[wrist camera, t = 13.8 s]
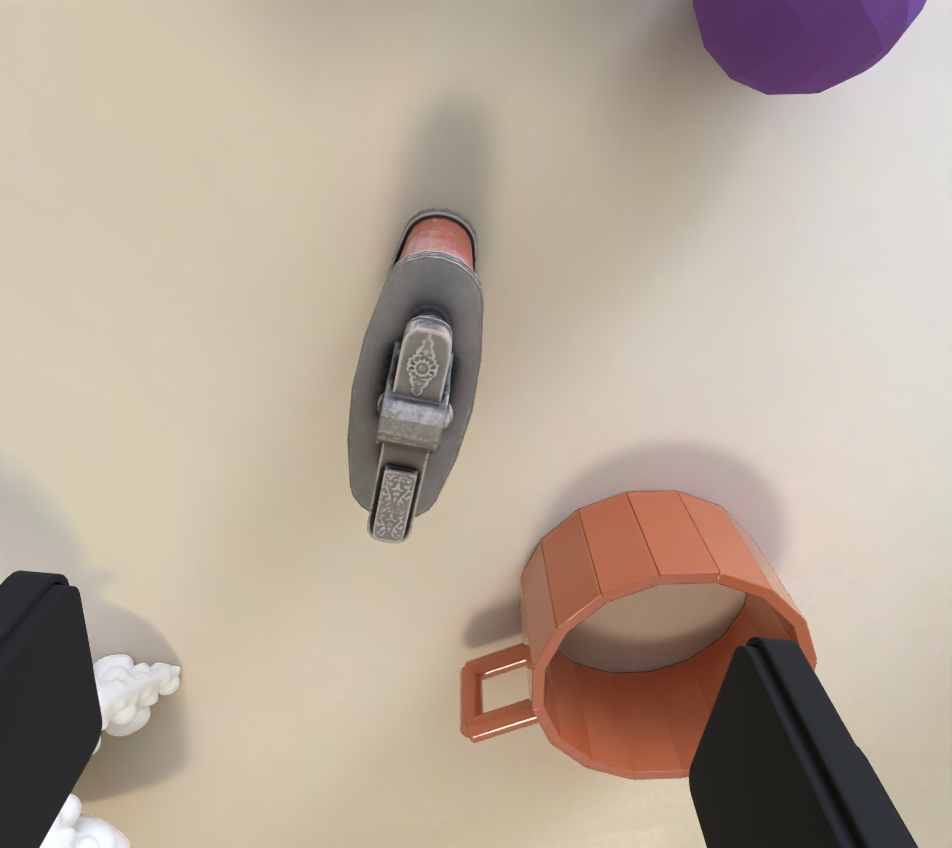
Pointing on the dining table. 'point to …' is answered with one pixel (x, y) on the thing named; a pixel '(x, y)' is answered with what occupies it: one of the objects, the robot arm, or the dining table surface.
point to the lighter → (416, 374)
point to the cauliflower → (123, 712)
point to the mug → (611, 577)
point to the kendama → (801, 39)
